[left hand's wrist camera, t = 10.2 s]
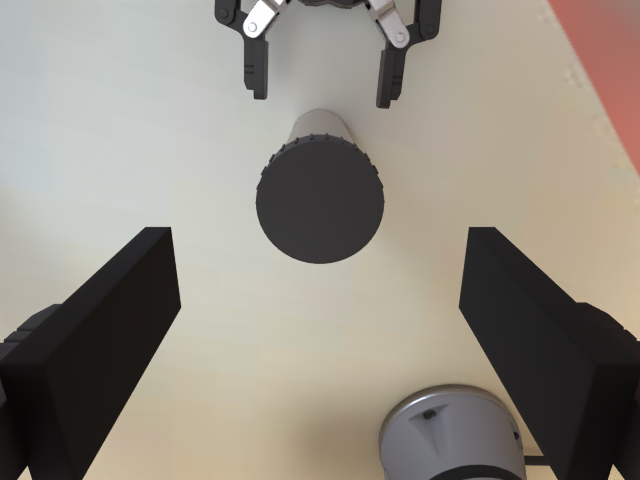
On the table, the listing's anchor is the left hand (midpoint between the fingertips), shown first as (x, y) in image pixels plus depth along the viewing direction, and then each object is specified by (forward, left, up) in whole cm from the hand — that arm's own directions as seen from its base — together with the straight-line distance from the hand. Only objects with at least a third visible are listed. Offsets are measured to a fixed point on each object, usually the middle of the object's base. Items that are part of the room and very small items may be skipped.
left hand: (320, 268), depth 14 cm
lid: (0, 0, -7) cm, 7 cm away
